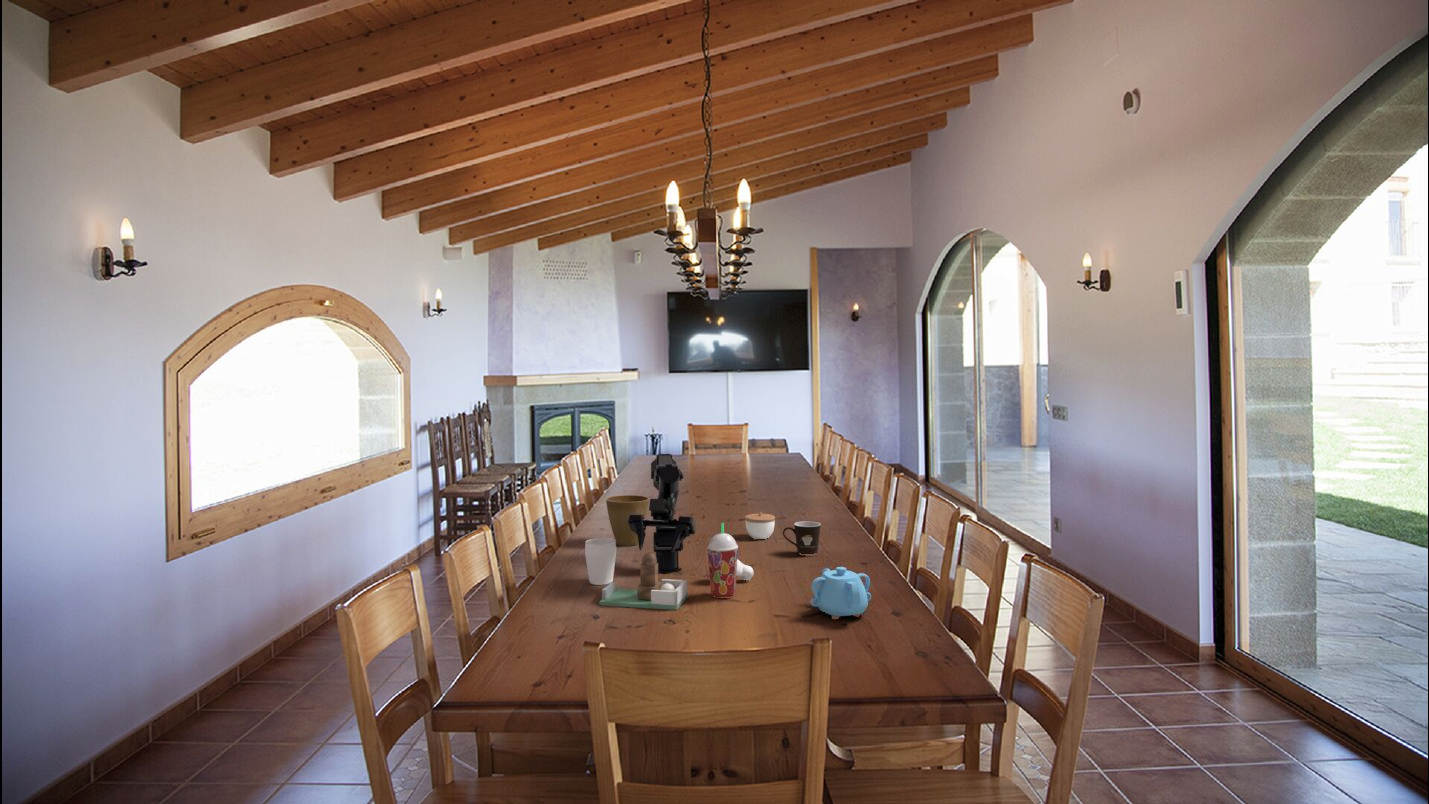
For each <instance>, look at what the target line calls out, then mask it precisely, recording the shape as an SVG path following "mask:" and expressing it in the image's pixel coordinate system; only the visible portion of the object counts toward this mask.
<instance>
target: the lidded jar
mask: <svg viewBox="0 0 1429 804" xmlns="http://www.w3.org/2000/svg"><path fill="white" fill-rule="evenodd" d="M744 517H745V518H744V520H745V530H746V533H747V534H748V535H749V536H750V537H751V539H752V538H753V539H752V540H756V539H765V540H768V539H769V537H771V536H772V534H773V533H774V530H775V525H776V524H775V523H776V517H775V515H773V514H769V513H762V511H758V513H750V514H747V515H745V516H744ZM767 538H768V539H767Z"/></svg>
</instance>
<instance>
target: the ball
mask: <svg viewBox="0 0 1429 804" xmlns="http://www.w3.org/2000/svg"><path fill="white" fill-rule="evenodd" d="M660 590H666V591H675V588H674V586H673V585H672V584H669V583H666V584H663V585H662V586H661V588H660Z"/></svg>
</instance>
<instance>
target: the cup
mask: <svg viewBox="0 0 1429 804" xmlns="http://www.w3.org/2000/svg"><path fill="white" fill-rule="evenodd" d="M584 545H585V546H584V555H585V561H586V568H587V574H588V580H589V584H590V585H591V584H592V585H595V586H603V585H609V584H610V583H611V582H614V581H613V580H614V573H615V564H616V558H617V557H616V555H617V542H616V540H615V538H611V537H593V538H589V539H587V540H585V544H584Z"/></svg>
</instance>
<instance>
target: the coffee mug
mask: <svg viewBox="0 0 1429 804" xmlns="http://www.w3.org/2000/svg"><path fill="white" fill-rule="evenodd" d="M821 525H822V523H820V522H817V521H806V520H804V521H797V522H794V525H793V526H794V528H793V527H790V526H789V527H786V528H784V529H783V531H782V535H783V537H784V539H785V540H787V542H789V543H790V544H792V545H794V547H796V552H798V553H801V554H814V553H817V554H818V549H819V542H820V533H821ZM787 530H790V531H792V532H793V534H794V535H795V540H796V541H795V542H796V543H795V542H794V541H793V540H790V538H788V537H787V536H786V534H785V531H787ZM798 553H797V554H798Z"/></svg>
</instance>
